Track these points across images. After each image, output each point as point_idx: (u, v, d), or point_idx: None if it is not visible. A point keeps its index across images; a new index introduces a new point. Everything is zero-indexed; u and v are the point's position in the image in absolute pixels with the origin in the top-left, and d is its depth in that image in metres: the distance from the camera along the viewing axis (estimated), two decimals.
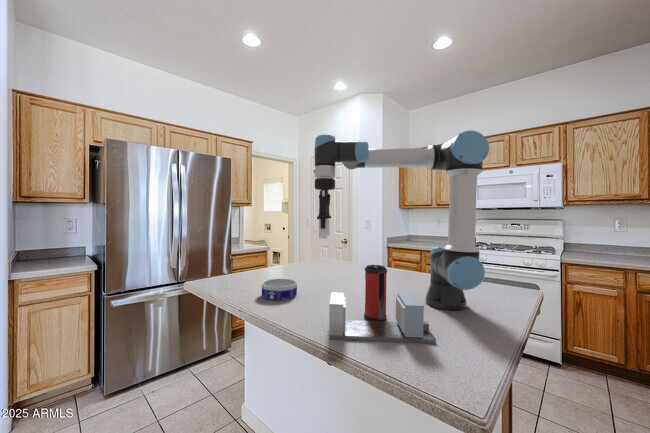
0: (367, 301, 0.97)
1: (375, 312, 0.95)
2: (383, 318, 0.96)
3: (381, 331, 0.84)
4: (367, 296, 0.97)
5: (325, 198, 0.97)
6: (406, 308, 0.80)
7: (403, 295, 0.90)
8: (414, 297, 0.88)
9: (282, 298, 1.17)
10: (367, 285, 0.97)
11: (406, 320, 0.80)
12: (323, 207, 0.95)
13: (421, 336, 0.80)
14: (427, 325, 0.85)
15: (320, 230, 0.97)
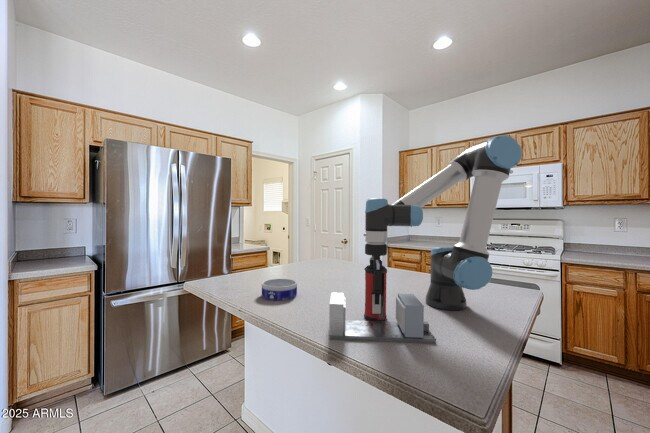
0: (367, 301, 0.97)
1: None
2: (383, 318, 0.96)
3: (381, 331, 0.84)
4: (367, 296, 0.97)
5: (380, 272, 0.92)
6: (406, 308, 0.80)
7: (403, 295, 0.90)
8: (414, 297, 0.88)
9: (282, 298, 1.17)
10: (367, 285, 0.97)
11: (406, 320, 0.80)
12: (378, 283, 0.92)
13: (421, 336, 0.80)
14: (427, 325, 0.85)
15: (374, 305, 0.94)
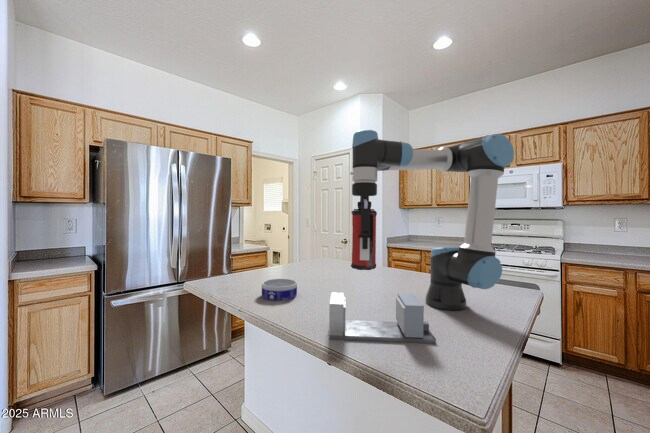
0: (354, 247, 0.85)
1: None
2: (372, 266, 0.84)
3: (381, 331, 0.84)
4: (354, 242, 0.85)
5: (368, 211, 0.80)
6: (406, 308, 0.80)
7: (403, 295, 0.90)
8: (414, 297, 0.88)
9: (282, 298, 1.17)
10: (354, 229, 0.85)
11: (406, 320, 0.80)
12: (366, 223, 0.80)
13: (421, 336, 0.80)
14: (427, 325, 0.85)
15: (361, 250, 0.83)
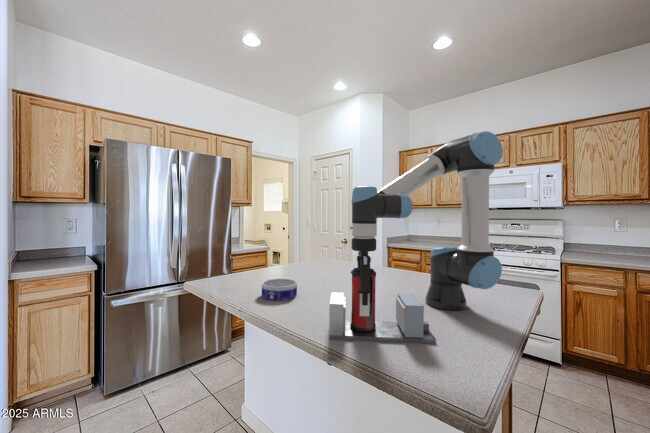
0: (353, 308, 0.85)
1: (362, 322, 0.84)
2: (371, 328, 0.85)
3: (381, 331, 0.84)
4: (353, 303, 0.85)
5: (368, 267, 0.80)
6: (406, 308, 0.80)
7: (403, 295, 0.90)
8: (414, 297, 0.88)
9: (282, 298, 1.17)
10: (353, 290, 0.85)
11: (406, 320, 0.80)
12: (366, 280, 0.78)
13: (421, 336, 0.80)
14: (427, 325, 0.85)
15: (361, 306, 0.81)
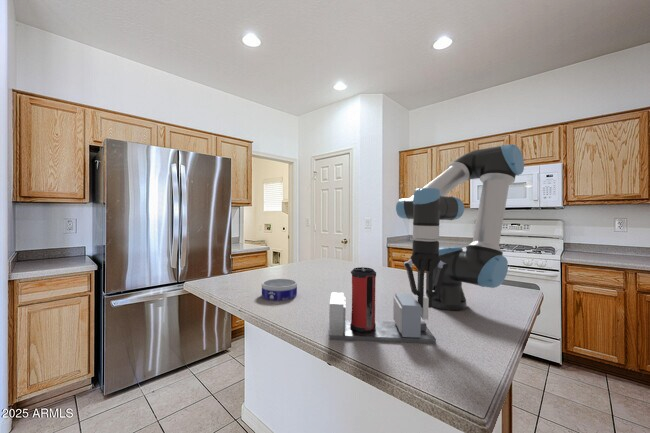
0: (353, 309, 0.85)
1: (362, 322, 0.84)
2: (371, 328, 0.85)
3: (381, 331, 0.84)
4: (353, 303, 0.85)
5: (408, 272, 0.85)
6: (403, 308, 0.80)
7: (400, 295, 0.90)
8: (411, 297, 0.88)
9: (282, 298, 1.17)
10: (353, 290, 0.85)
11: (403, 320, 0.80)
12: (410, 283, 0.86)
13: (418, 336, 0.80)
14: (424, 325, 0.85)
15: (421, 307, 0.87)
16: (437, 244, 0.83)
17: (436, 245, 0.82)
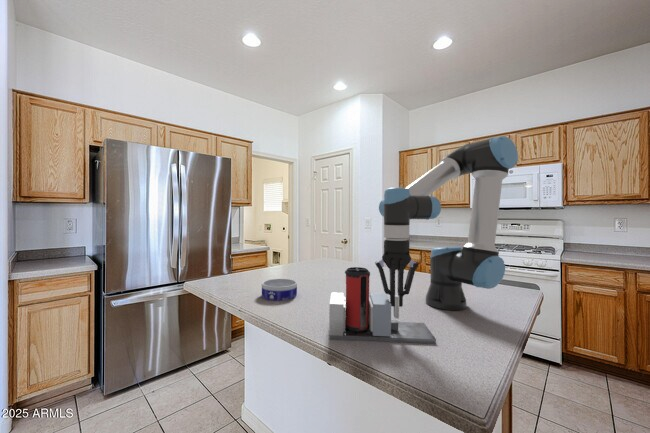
0: (347, 308, 0.85)
1: (356, 321, 0.84)
2: (365, 328, 0.85)
3: None
4: (347, 303, 0.85)
5: (379, 272, 0.86)
6: (374, 307, 0.81)
7: (374, 294, 0.90)
8: (385, 296, 0.88)
9: (282, 298, 1.17)
10: (347, 290, 0.85)
11: (374, 319, 0.81)
12: (382, 282, 0.86)
13: (388, 335, 0.81)
14: (396, 324, 0.85)
15: (393, 306, 0.87)
16: (407, 243, 0.83)
17: (406, 245, 0.83)
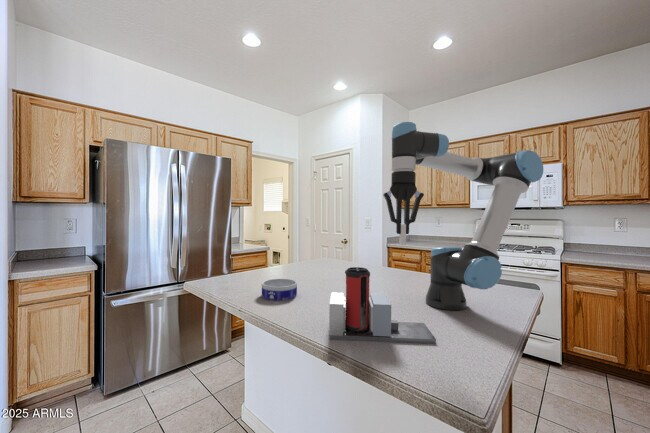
0: (347, 308, 0.85)
1: (356, 321, 0.84)
2: (365, 328, 0.85)
3: None
4: (347, 303, 0.85)
5: (387, 201, 0.92)
6: (374, 307, 0.81)
7: (374, 294, 0.90)
8: (385, 296, 0.88)
9: (282, 298, 1.17)
10: (347, 290, 0.85)
11: (374, 319, 0.81)
12: (389, 212, 0.93)
13: (388, 335, 0.81)
14: (396, 324, 0.85)
15: (399, 235, 0.94)
16: (413, 174, 0.90)
17: (412, 174, 0.89)
